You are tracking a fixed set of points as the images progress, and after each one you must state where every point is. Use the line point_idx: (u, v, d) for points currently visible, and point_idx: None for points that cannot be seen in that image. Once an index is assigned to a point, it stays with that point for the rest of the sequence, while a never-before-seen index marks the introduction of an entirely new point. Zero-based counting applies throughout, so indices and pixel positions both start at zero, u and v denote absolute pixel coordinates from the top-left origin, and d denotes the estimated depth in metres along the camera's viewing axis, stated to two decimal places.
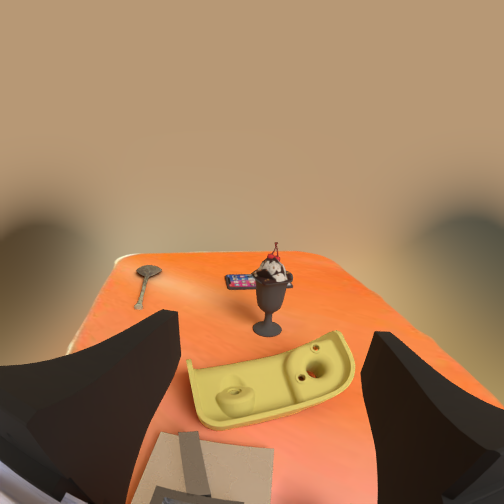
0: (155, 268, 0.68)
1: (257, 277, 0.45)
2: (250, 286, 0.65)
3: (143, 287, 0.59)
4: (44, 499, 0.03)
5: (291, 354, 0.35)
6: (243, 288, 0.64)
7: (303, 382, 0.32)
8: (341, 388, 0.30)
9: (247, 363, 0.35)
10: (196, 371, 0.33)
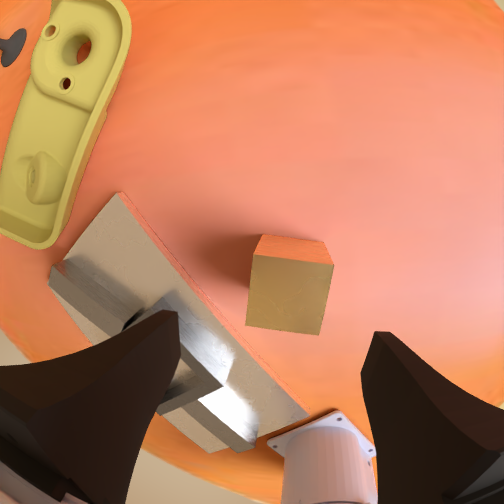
0: None
1: None
2: None
3: None
4: (43, 499, 0.03)
5: (31, 72, 0.13)
6: None
7: (72, 86, 0.14)
8: (123, 47, 0.13)
9: (12, 133, 0.16)
10: None
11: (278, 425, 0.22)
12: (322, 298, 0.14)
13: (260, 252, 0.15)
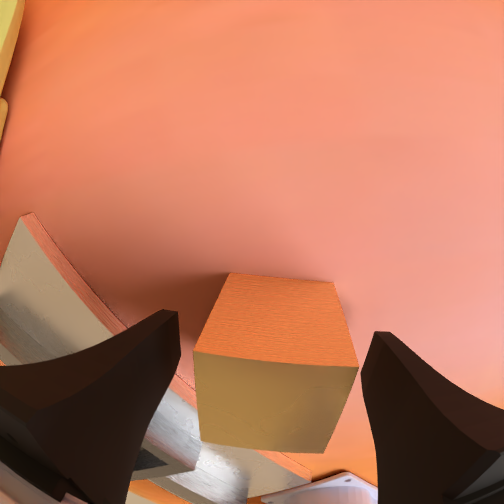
0: None
1: None
2: None
3: None
4: (44, 499, 0.03)
5: None
6: None
7: None
8: (9, 8, 0.05)
9: None
10: None
11: (272, 490, 0.15)
12: (332, 414, 0.07)
13: (209, 344, 0.07)
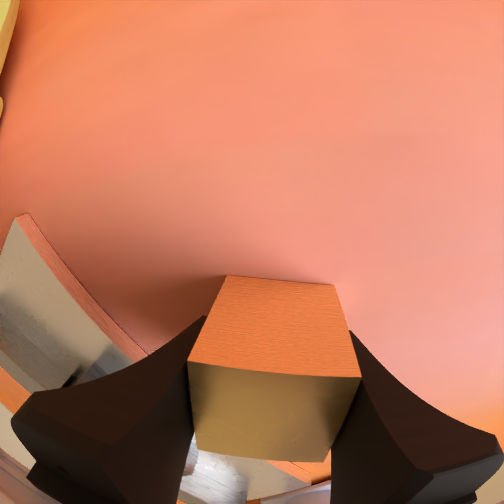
0: None
1: None
2: None
3: None
4: (43, 499, 0.03)
5: None
6: None
7: None
8: (4, 3, 0.04)
9: None
10: None
11: (271, 492, 0.15)
12: (333, 424, 0.07)
13: (204, 352, 0.07)
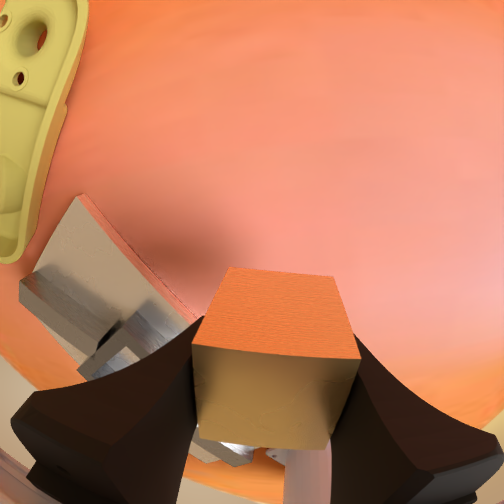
0: None
1: None
2: None
3: None
4: (43, 499, 0.03)
5: None
6: None
7: (25, 81, 0.10)
8: (78, 30, 0.09)
9: None
10: None
11: None
12: (333, 408, 0.07)
13: (208, 335, 0.07)
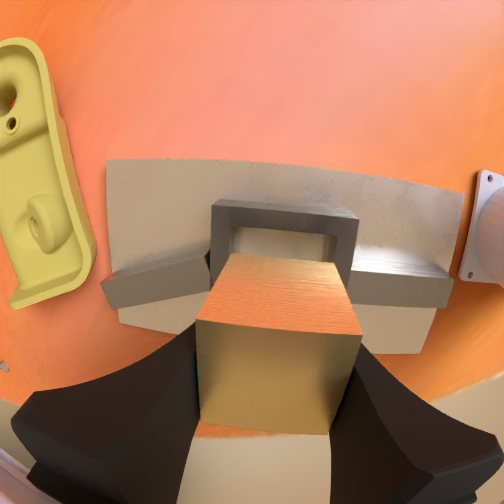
0: None
1: None
2: None
3: None
4: (43, 499, 0.03)
5: None
6: None
7: (18, 119, 0.13)
8: (38, 56, 0.12)
9: None
10: (21, 283, 0.18)
11: (451, 237, 0.16)
12: (336, 388, 0.07)
13: (211, 312, 0.07)
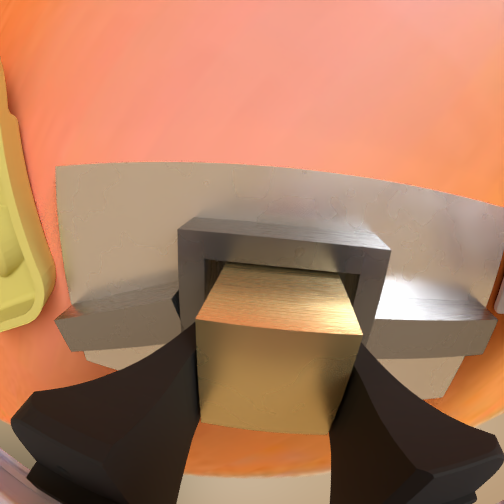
0: None
1: None
2: None
3: None
4: (43, 499, 0.03)
5: None
6: None
7: None
8: None
9: None
10: None
11: (494, 264, 0.11)
12: (336, 388, 0.07)
13: (211, 312, 0.07)
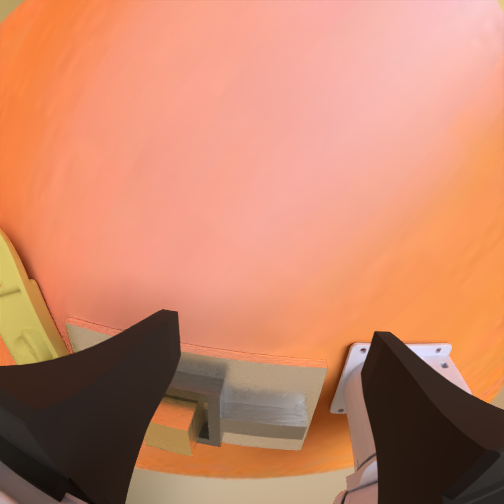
0: None
1: None
2: None
3: None
4: (43, 499, 0.03)
5: None
6: None
7: (1, 283, 0.19)
8: (1, 242, 0.17)
9: None
10: None
11: (314, 393, 0.21)
12: (186, 442, 0.18)
13: None
